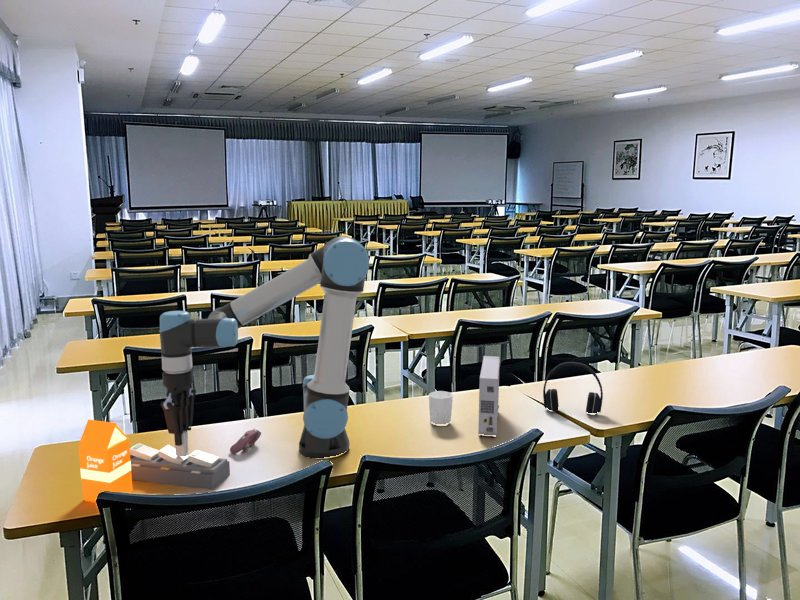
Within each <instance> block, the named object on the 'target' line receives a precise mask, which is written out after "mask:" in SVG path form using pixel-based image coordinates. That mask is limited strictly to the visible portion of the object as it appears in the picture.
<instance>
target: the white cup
mask: <svg viewBox="0 0 800 600" xmlns="http://www.w3.org/2000/svg"><path fill="white" fill-rule="evenodd" d="M453 397H454V396H453V393H452V392H450V391H444V390H438V391H436V390H435V391H431V392H430V393H428V402H429V404H428V406H429V408H428V409H429V420H430V421H431V422H433V423H435V424H446V423H449V422H450V421H451V422H452V419H451V418H452V409H453Z"/></svg>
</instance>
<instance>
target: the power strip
mask: <svg viewBox="0 0 800 600" xmlns="http://www.w3.org/2000/svg"><path fill="white" fill-rule="evenodd" d="M130 461H131V475H132V481H139V482H140V481H141V482H148V483H155V484H163V485H172V486H178V487H179V486H180V487H181V486H182V487H188V488H195V489H197V488H198V489H203V490H204V489H205V490H215V489H216V488H217V487H218V486H219V485H221V483H222V482H223V481H225V480H226V479H227V478H229V476H230V475H231V469H230V467H231V465H230V461H229V460H228V458H221V457H220V458H219V463H218V464H216V465H215V466H214V467H213V468H208V467H204V466H201V465H198V464H195V463H192V462H189V461H188V460H187V461H186V462H185V463H183V464H173V463H171V462H169V461H167V460H165V459H163V458H161V457H160V456H159V457H158V458H156V459H155V460H153V461H147V460H144V459H141V458H138V457H136V456H133V455H130Z"/></svg>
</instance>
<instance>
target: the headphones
mask: <svg viewBox="0 0 800 600" xmlns="http://www.w3.org/2000/svg"><path fill="white" fill-rule="evenodd" d="M568 366H574V367H579V368H583V369H584V370H587V371H588V372H589V373H590V374H591V375H593V377H594V378H595V379H596V382H597V384H598V387H599V390H600V395H599V393H598V392H594V391H593V392H592V391H590V392H588V395H587V401H586V406H585V413H586V412H588V413H597V412H598V413H599V412H600V413H601V411H602V406H603V397H604V393H603V386H602V383H601V381H600V378H599V376H598V375H597V373H596V372H595V370H593V369H592V368H591V367H590V366H588V365H586V364H585V363H582V362H576V361H565V362H562V363H559V364H558V365H557V366H555V367H553V369H552V370H551V371H550V372H549V373H548V374H547V376H546V378H545V380H544V384H543V389H542V390H543V391H542V395H543V396H542V397H543V407H545V408H544V409H547V408H548V409H549V410H553V411H556V412H558V411H559V410H558V407H559V396H558V389H557V388H552V389H551V388H548V389H547V390H546V387H547V383H548V380H549V379H550V377H552V376H551V375H553V374H554V373H555V372H556V371H557V370H559V369H561V368H564V367H568ZM548 409H547V410H548ZM549 410H548V411H549ZM598 413H597V414H598Z"/></svg>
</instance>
